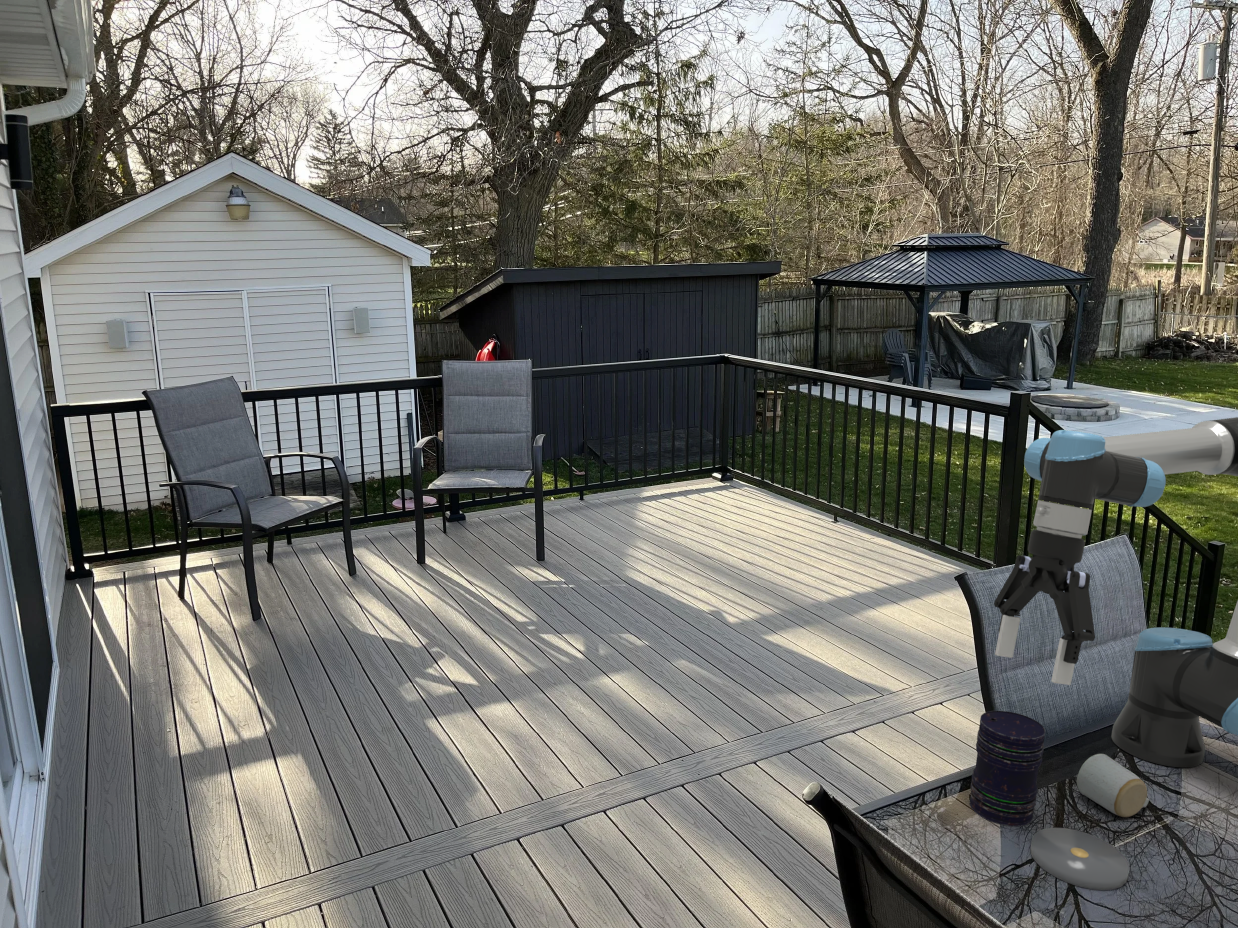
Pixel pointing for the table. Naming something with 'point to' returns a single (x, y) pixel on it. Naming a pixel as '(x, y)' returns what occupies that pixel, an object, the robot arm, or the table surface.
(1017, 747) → the navy cylinder
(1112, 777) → the ceramic mug
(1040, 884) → the table surface
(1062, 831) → the grey flat round disc
